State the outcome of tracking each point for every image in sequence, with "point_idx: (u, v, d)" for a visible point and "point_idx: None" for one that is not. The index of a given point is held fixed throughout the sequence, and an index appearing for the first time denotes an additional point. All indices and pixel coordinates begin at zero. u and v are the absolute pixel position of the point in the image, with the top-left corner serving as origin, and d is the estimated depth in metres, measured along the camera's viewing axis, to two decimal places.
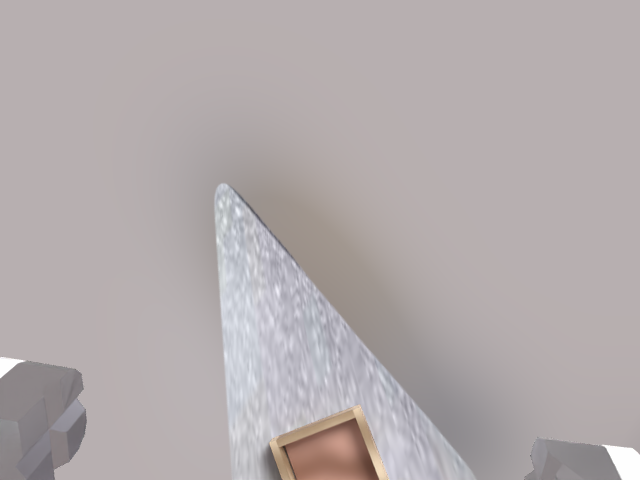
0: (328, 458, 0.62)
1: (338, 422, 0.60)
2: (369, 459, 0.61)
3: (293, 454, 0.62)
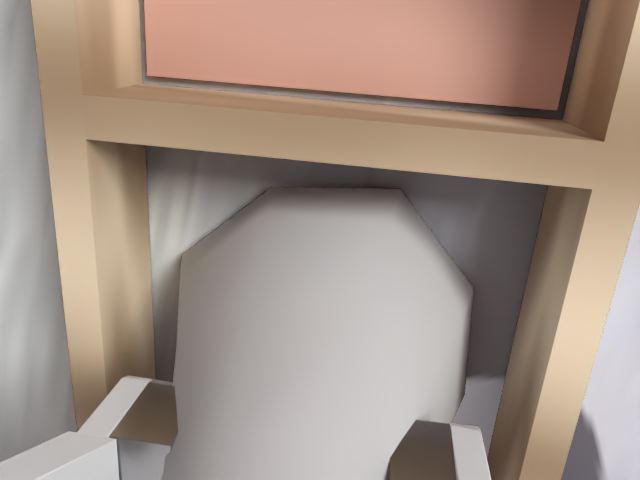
0: None
1: None
2: None
3: None
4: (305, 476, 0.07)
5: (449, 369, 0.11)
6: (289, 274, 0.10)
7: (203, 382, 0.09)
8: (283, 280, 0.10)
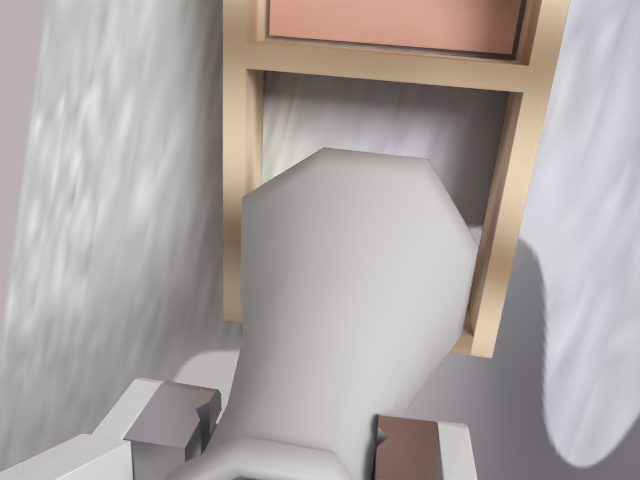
0: None
1: None
2: None
3: None
4: (353, 343, 0.10)
5: (453, 305, 0.14)
6: (338, 214, 0.13)
7: (271, 283, 0.12)
8: (333, 217, 0.13)
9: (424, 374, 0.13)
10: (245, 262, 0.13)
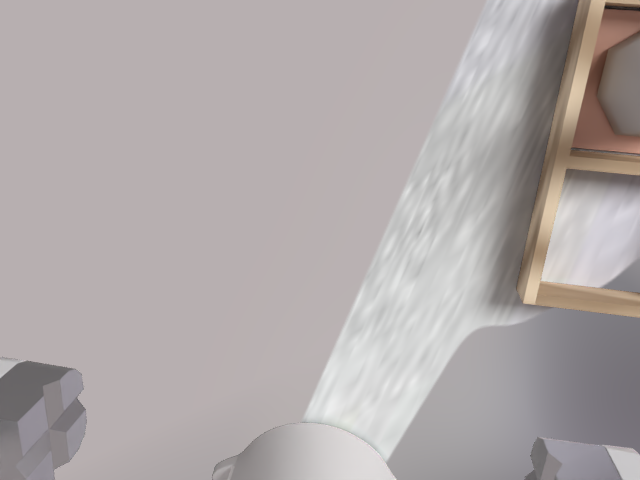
0: None
1: None
2: None
3: (599, 33, 0.34)
4: None
5: None
6: None
7: None
8: None
9: None
10: None
